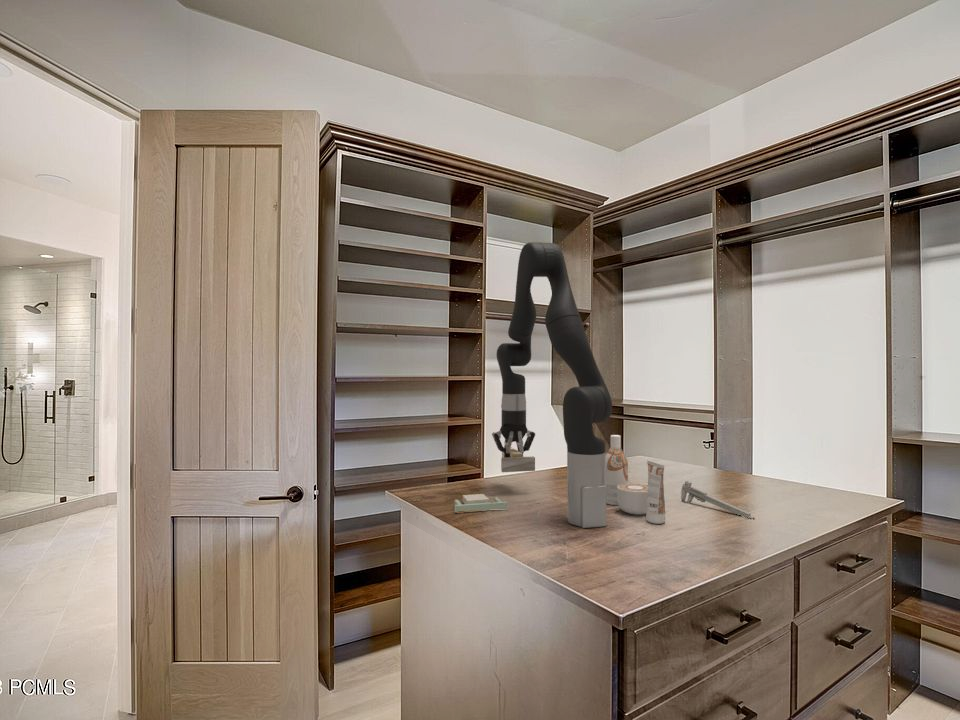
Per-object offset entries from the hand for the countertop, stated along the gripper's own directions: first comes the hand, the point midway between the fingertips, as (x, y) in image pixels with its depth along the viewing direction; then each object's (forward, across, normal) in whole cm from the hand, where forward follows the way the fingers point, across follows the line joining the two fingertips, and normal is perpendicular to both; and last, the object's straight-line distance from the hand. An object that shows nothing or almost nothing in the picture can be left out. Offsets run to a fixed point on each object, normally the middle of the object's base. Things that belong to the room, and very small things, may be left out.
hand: (513, 464), depth 159 cm
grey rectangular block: (+1, 0, +1) cm, 1 cm away
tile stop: (+8, -15, -16) cm, 24 cm away
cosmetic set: (+8, +24, -29) cm, 39 cm away
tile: (+8, -15, -12) cm, 21 cm away
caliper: (+8, +46, -32) cm, 57 cm away
